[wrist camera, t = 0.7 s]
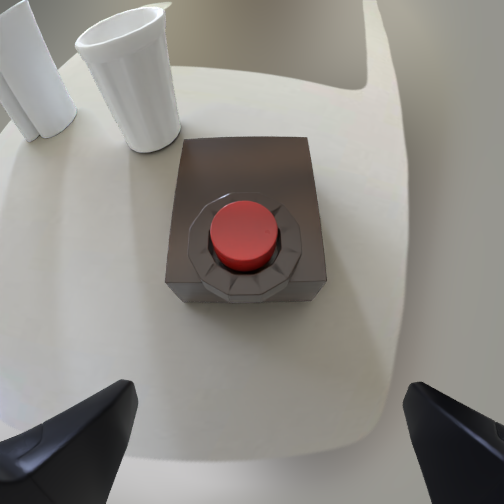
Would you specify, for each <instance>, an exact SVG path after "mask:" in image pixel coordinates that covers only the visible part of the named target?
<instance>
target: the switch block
mask: <svg viewBox="0 0 504 504" xmlns="http://www.w3.org/2000/svg"><path fill="white" fill-rule="evenodd" d="M237 201H252V202H256V203H258V204H261V205H262V206H264V207H266V208H267V209H268V210H269V211H270V212H271V213H272V214H273V216H274V218H275V220H276V222H277V227H278V235H277V241H276V247H275V251H274V254H273V256H272V257H271V259H270V260H269V261H268V262H267V263H266V264H265V265H264V266H262V267H260V268H258V269H256V270H253V271H246V272H243V271H236V270H233V269H230V268H228V267H227V266H225V265H224V264H223V263H222V262H221V261H220V260H219V259H218V257H217V255H216V253H215V250H214V247H213V243H212V240H211V235H210V228H211V223H212V221H213V218H214V217H215V215H216V214H217V213H218V212H219V211H220V210H221V209H222V208H223V207H225V206H226V205H228V204H230V203H233V202H237ZM326 281H327V277H326V267H325V257H324V248H323V240H322V231H321V224H320V216H319V209H318V201H317V194H316V188H315V181H314V175H313V169H312V162H311V157H310V151H309V145H308V139H307V137H218V138H198V139H184V142H183V148H182V153H181V159H180V165H179V171H178V177H177V184H176V191H175V198H174V205H173V212H172V220H171V228H170V237H169V246H168V255H167V266H166V277H165V283H166V284H167V285H168V286H169V287H170V288H171V290H172V291H173V292H174V293H175V294H176V295H177V296H178V297H179V298H180V299H181V300H182V301H183V302H231V303H259V302H291V301H312V299H313V298H314V297H315V296H316V294H317V293H318V292H319V290H320V289H321V288H322V286H323V285H324V284H325V283H326Z"/></svg>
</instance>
